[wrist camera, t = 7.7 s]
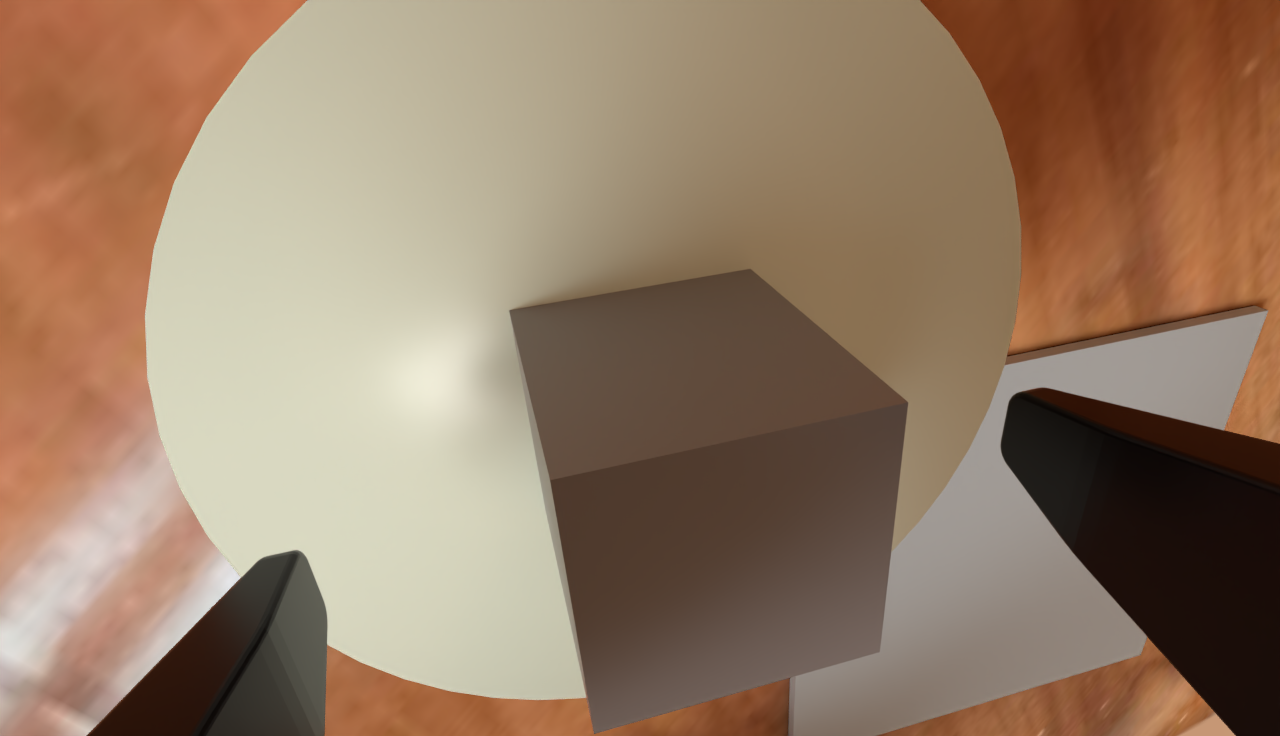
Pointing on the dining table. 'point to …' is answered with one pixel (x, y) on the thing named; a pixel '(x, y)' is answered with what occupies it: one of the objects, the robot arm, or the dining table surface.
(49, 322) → the dining table surface
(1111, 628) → the mat
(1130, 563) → the robot arm
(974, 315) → the cover
